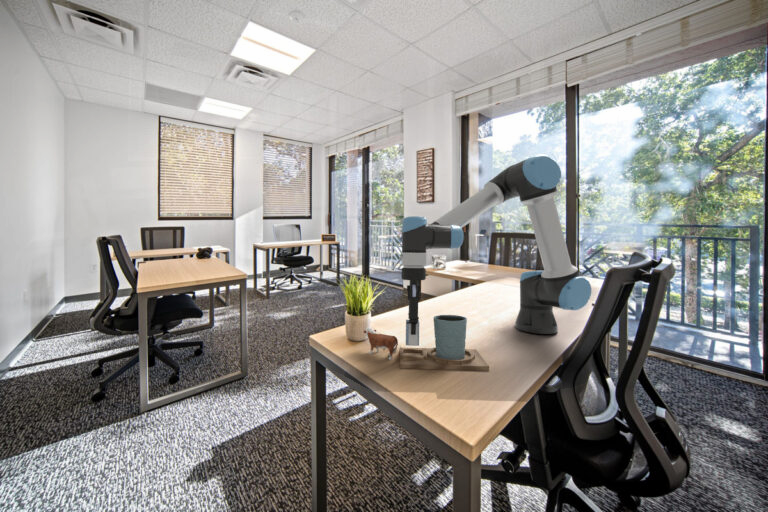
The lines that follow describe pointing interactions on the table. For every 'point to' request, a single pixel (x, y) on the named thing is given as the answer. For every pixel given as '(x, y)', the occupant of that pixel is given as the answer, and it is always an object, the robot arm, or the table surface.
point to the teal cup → (450, 336)
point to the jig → (440, 360)
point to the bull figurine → (381, 341)
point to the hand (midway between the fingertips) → (412, 342)
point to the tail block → (408, 333)
